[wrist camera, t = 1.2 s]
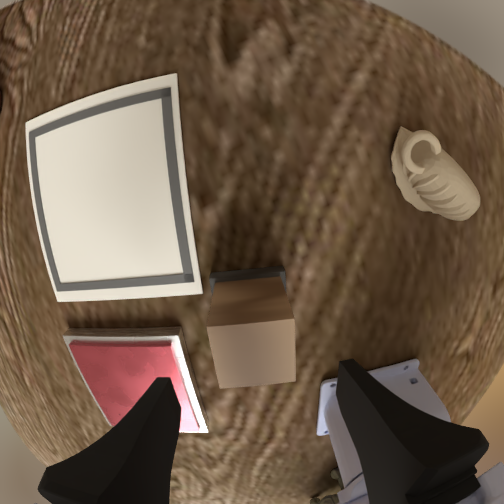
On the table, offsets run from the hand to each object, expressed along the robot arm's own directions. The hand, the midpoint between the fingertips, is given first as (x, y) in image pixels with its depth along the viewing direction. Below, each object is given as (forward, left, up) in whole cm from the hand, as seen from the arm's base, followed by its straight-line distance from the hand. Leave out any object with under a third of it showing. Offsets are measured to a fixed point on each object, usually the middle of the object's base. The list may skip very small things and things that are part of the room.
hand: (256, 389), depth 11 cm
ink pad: (+10, +7, -8) cm, 15 cm away
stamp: (0, 0, -8) cm, 8 cm away
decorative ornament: (-12, -8, -8) cm, 17 cm away
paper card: (+9, -8, -8) cm, 15 cm away
